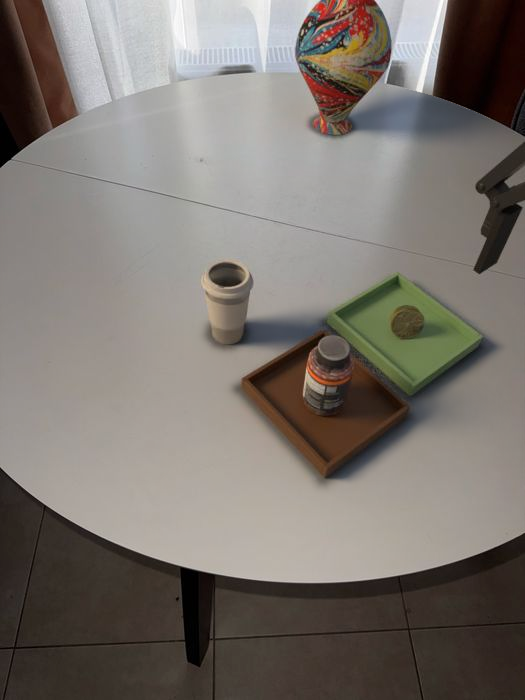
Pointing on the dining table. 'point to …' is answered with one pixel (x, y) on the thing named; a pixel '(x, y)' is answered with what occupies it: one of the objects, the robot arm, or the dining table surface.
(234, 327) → the cup
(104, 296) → the dining table surface
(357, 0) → the vase
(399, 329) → the lime
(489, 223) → the robot arm
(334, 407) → the supplement bottle
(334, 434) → the walnut tray
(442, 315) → the green tray
